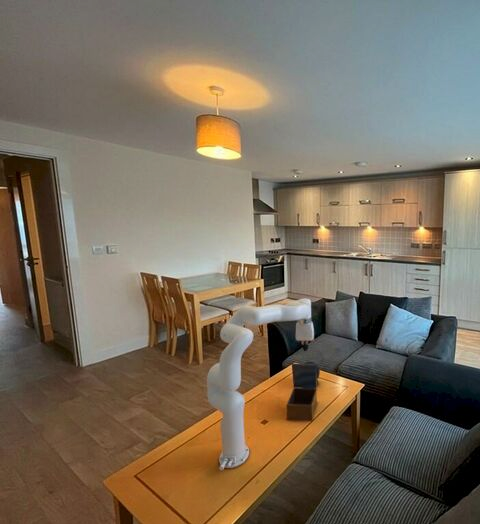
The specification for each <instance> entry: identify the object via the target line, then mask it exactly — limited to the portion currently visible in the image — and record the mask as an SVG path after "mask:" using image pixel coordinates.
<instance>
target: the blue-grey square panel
mask: <svg viewBox="0 0 480 524" xmlns="http://www.w3.org/2000/svg"><path fill="white" fill-rule="evenodd" d="M316 364H317V363H316ZM316 364H304V363H291V372H292V383H293V385H292V386H293V389H294V388H314V389H317V388H318V386H317V382H316Z"/></svg>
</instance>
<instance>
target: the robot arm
mask: <svg viewBox="0 0 480 524" xmlns="http://www.w3.org/2000/svg"><path fill="white" fill-rule="evenodd" d="M292 321H293V322H294V321H296V324H295V341H296V342H299V343H301V345H302V350H303V352H307V351H308V350H309V343H311V342H315V329H314V323H313V321H312V301H311V299H309V298H305V297H304V298H299V299H297V300H291V301H287V302H286V303H285V305H284V304H276V303H275V304H269V305H263V306H253V305H249V304H245V305H242V306H241V307H240V308H239V309H237V311H235V312H234V313H233V315H232V316H231V317H230V318H229V319H228V320H227V321H226V322H225V324H223V326H222V328H221V330H220V332H219V337H220V339H221V341H223V342H224V343H226V344H228V345H227V346H226V347H225V348H224V349H223V351H222V352H221V354H220V356H219V362H217V363H215V364H213V365H212V366H211V367H210V369H209V371H208V373H207V375H206V388H207V389H206V393H207V401H208V404H209V406H211V407H212V408H214V409H216V410H217V411H219V412H220V413H221V414H222V418H221V420H220V436H221V448H222V449H221V453H220V455H219V458H218V463H219V467H218V470H219V471H223V470H224V469H233V468H237V467H239V466H240V465H242V464H243V463H245V462H246V461H247V459H248V458H249V455H250V449H249V447H248V446H247V445H246V436H245V421H244V412H245V406H246V399H245V397H244V395H242V393H240V391H238V388H240V385H241V382H242V368H241V367H242V363H241V362H242V356H243V354H244V352H245V351H247V349H248V347H250V346H251V344H252V343H253V340H254V332H253V331H252V330H251V329H249V328H247V327H244V326H245V325H246V324H247V325H250V326H254V327H255V326H262V325H266V324H267V325H268V324H271V323H275V322H292Z"/></svg>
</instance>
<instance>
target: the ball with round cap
mask: <svg viewBox="0 0 480 524" xmlns="http://www.w3.org/2000/svg"><path fill="white" fill-rule="evenodd" d="M303 364H316V382H317V387H318V386H319V381H318V379H319V377H320V375H321V374H320V373H321V371H320V367H319V365H318V364H317V363H316V362H313V361H306V362H304V363H303ZM309 389H315V388H309Z"/></svg>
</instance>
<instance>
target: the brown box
mask: <svg viewBox="0 0 480 524" xmlns="http://www.w3.org/2000/svg"><path fill="white" fill-rule="evenodd" d="M317 403H318V389H317V388H314V389H309V388H294V387H293V388H292V391H291V394H290V396H289V398H288V401H287V403H286V420H287V421H304V422H305V421H308V422H311V421H313V418H314V415H315V411H316V408H317Z"/></svg>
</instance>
